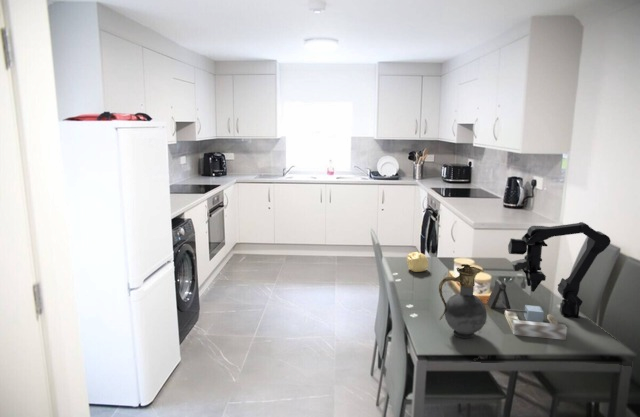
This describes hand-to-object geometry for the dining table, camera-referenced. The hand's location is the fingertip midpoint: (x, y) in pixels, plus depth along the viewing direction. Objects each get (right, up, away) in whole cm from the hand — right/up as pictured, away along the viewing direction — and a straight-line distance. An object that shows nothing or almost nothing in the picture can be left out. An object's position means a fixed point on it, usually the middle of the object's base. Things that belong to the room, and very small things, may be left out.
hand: (530, 288), depth 192 cm
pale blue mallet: (-6, -12, -5) cm, 14 cm away
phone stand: (-11, -10, +8) cm, 17 cm away
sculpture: (-38, 0, +56) cm, 68 cm away
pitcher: (-38, -15, -19) cm, 45 cm away
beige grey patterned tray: (-5, -14, -12) cm, 19 cm away
